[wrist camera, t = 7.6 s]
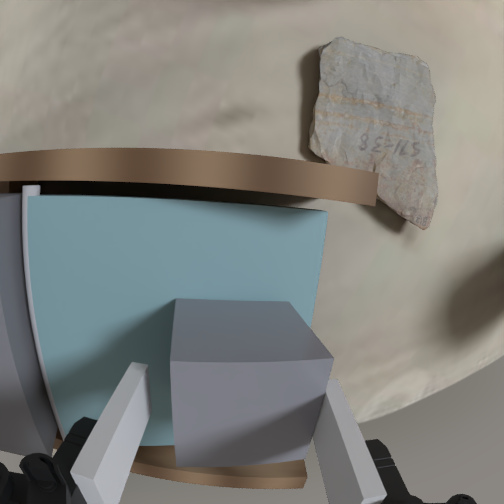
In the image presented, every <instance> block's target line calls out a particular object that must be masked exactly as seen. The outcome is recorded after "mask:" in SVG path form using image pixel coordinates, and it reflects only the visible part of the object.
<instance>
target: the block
mask: <svg viewBox="0 0 504 504" xmlns="http://www.w3.org/2000/svg"><path fill="white" fill-rule="evenodd" d="M333 360H334V357H333V356H332V355H331V354H330V352H329V351H328V350H327V349H326V347H325V346H324V345H323V344H322V342H321V341H320V340H319V339H318V337H317V336H316V335H315V334H314V332H313V331H312V330H311V329H310V327H309V326H308V325H307V324H306V322H305V321H304V320H303V319H302V317H301V316H300V315H299V314H298V312H297V311H296V310H295V309H294V307H293V306H292V305H291V304H290V302H286V301H235V300H206V299H183V298H176V302H175V312H174V321H173V332H172V343H171V355H170V378H171V400H172V418H173V432H174V445H175V456H176V466H177V467H229V466H247V465H259V464H270V463H279V462H287V461H294V460H301V459H305V457H306V454H307V451H308V448H309V445H310V442H311V439H312V436H313V433H314V429H315V426H316V423H317V420H318V416H319V413H320V409H321V406H322V402H323V399H324V395H325V391H326V388H327V384H328V380H329V376H330V372H331V368H332V364H333Z"/></svg>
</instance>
